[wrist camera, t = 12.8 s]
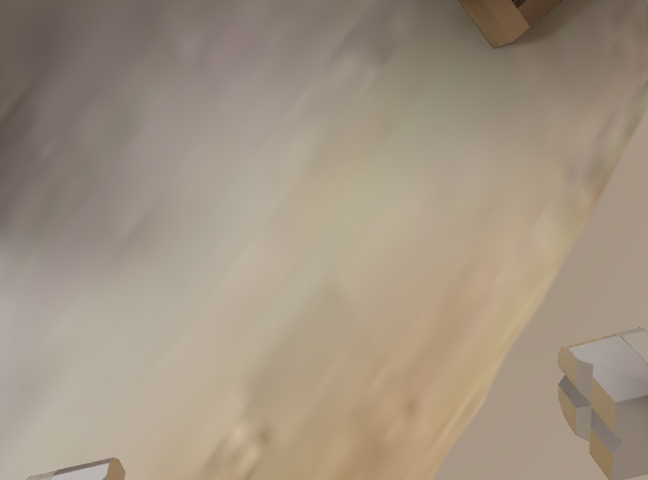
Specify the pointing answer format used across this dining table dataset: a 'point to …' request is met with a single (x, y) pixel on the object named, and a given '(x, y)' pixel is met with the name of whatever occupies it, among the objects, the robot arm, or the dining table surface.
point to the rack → (506, 17)
